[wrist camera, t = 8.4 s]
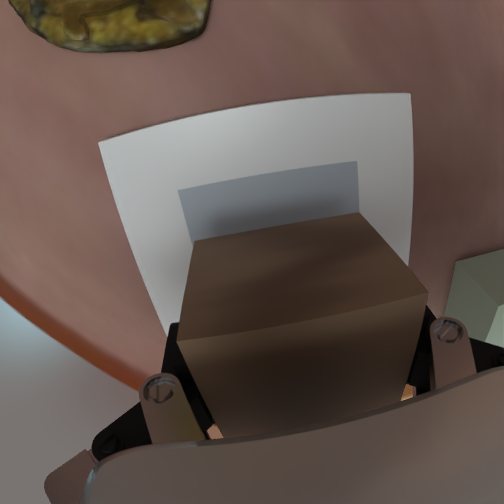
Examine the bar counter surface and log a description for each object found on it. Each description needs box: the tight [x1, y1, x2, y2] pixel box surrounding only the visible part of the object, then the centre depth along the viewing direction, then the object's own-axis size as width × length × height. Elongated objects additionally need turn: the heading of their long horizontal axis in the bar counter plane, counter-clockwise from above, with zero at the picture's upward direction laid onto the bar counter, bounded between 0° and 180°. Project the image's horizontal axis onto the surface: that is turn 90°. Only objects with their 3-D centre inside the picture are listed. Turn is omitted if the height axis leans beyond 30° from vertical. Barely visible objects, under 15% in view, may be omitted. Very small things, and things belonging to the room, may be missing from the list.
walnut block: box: [176, 212, 429, 438], centre depth 10 cm, size 6×6×5 cm
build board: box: [98, 92, 413, 337], centre depth 16 cm, size 14×14×1 cm
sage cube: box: [443, 249, 504, 347], centre depth 17 cm, size 5×5×5 cm
